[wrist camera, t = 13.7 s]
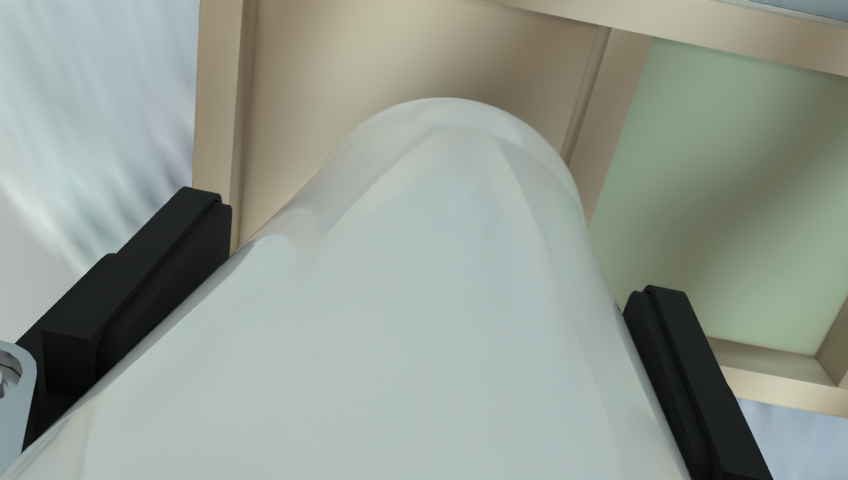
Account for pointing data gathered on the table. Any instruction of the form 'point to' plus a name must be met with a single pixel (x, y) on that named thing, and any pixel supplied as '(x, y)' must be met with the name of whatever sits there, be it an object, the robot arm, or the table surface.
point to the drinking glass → (389, 332)
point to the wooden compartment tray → (587, 142)
